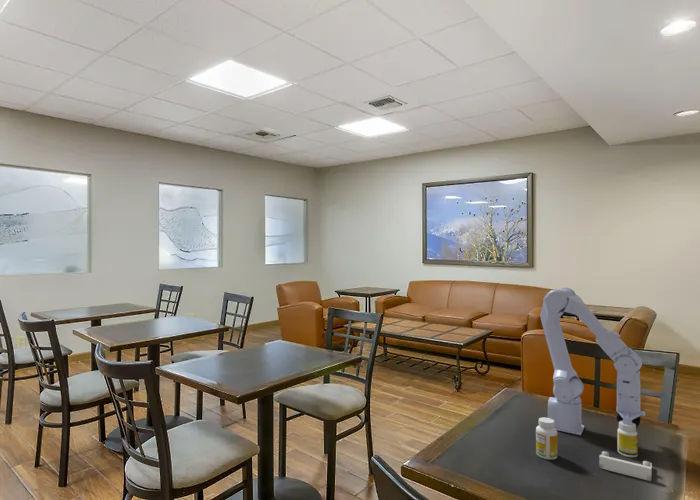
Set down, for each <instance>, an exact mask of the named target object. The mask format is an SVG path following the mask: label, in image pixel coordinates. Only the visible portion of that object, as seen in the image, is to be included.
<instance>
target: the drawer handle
mask: <svg viewBox="0 0 700 500" xmlns="http://www.w3.org/2000/svg"><path fill="white" fill-rule="evenodd" d="M598 459H599V463H598V464H599V466H598V468H599V469H602V470H606V471H610V472H614V473H618V474H621V475H625V476H629V477H633V478H637V479H641V480H645V481H648V482H652V473H653V472H652V469H653V468H652V467H653V465H652V464H653V463H652V462H650V461H648V460H643V461H642V464H640V463H637V462H631V461H628V460H624V459H620V458H616V457H612V456H611V457H610V453H609V451H606V450H605V451H604V450H602V451H601V454H599V457H598Z"/></svg>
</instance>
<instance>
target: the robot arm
mask: <svg viewBox="0 0 700 500" xmlns="http://www.w3.org/2000/svg"><path fill="white" fill-rule="evenodd" d="M542 300H543V304H542V307H541V310H540V314H539V316H540V320H541V326H542V329H543V332H544V333H543V334H544V335H545V340H546V344H547V347H548V351H549V355H550V360H551V362H552V366H553V370H554V372H553V376H552V381H553V388H552V393H553V395H554V397H553V396H549V398H548V401H547V418H550V419H553V420H554V422H555V426H554V428H555V429H556V430H557V431H559V432H564V433H568V434H573V435H578V436H582V433H583V431H584V429H585V425H584V424H582V399H581V395H582V394H583V393H584V390H585V387H584V384H583V382H582V380H581V379H580V378H579V376H578V373H577V371H576V370H575V369H574V368H573V365H572V362H571V361H572V360H571V358H570V355H569V354H570V353H569V351H568V347H567V343H566V340H565V336H564V333H563V329H562V325H561V321H560V318H561V317H562V315H564V313H567V314H573V315H575V316H577V317H578V319H579V320H580V321H582V323H583V324H584V325H585V326H586V327H587V328H588V329H589V330H590V331H591V332H592V333H593V334H594V335H595V342H596V344H597V345H598V346H599V347H600V348H601V349H602V350H603V352H604V353H605V354H606V355H607V357H609V358H610V360H612V361H613V366H614V368H615V370H616V372H617V373H616V407H615V410H616V411H615V412H617V415H616V420H617V422H618V423H619V421H623V424H626V425H632V423H634V424H636V430H637V429H638V427H639V425H640V424H641V417H646V412H645V411H642V410H641V371H640V370H641V368H642V365H643V359H642V358H641V356H640V354H639V353H637V352H636V351H633V348H631V347H628V345H626V344H625V342H624V341H623V340H622V339H621V338H620V337H621V334H620V333H618V332H614V331H613V330H611V329H607V328H605V326H604V325H603V324H602V323H601V322H600V320H599V319H598V318H597V317H596V315H595V314H594V313H593V312H592V310H591V309H590V308H589V307H588V306H587V304H586V303H585V302H584V301H583V299H582V298H581V297H580V296H579V295H578V294H576V293H575V291H574V290H573V289H572V288H569V287H561V288H558V289H557V288H556V289H552V290H549V291H548V292H547V293H546V295H545V296H544V297H543V299H542Z"/></svg>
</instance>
